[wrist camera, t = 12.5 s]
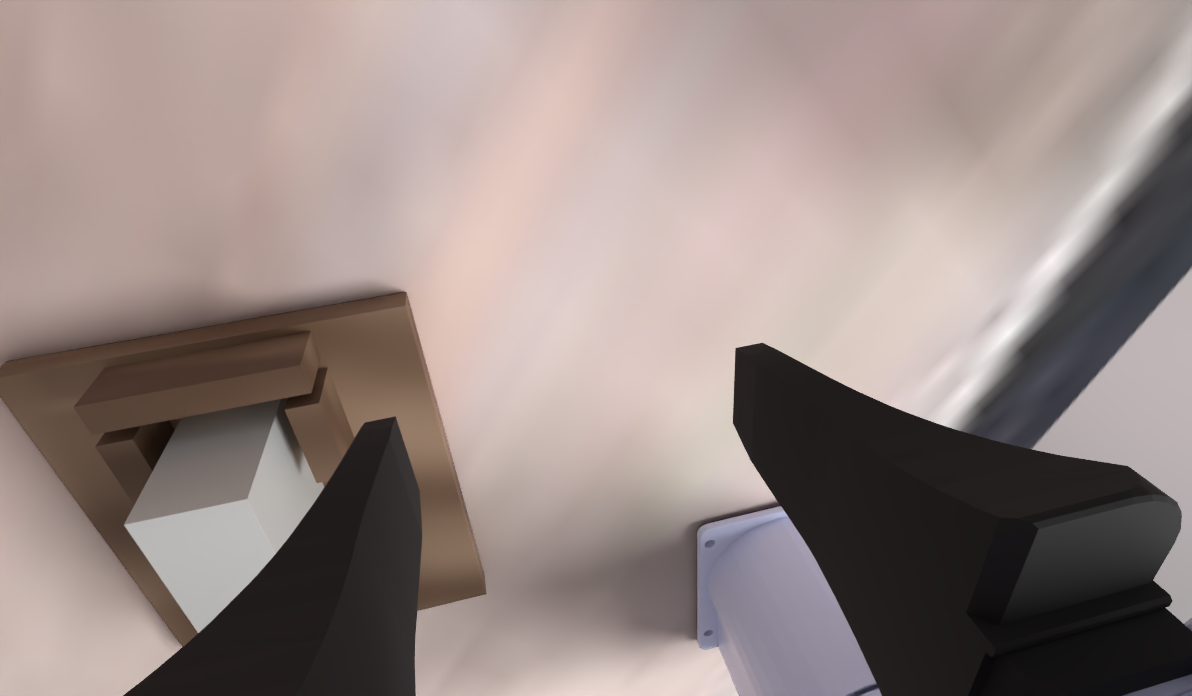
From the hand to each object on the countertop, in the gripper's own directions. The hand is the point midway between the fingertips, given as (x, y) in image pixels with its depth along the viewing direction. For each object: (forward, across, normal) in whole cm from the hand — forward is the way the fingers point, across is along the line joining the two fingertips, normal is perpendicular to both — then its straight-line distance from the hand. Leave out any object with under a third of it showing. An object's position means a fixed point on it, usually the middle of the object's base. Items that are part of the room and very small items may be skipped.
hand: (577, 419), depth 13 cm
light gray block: (+8, +10, +8) cm, 15 cm away
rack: (+9, +10, +8) cm, 16 cm away
